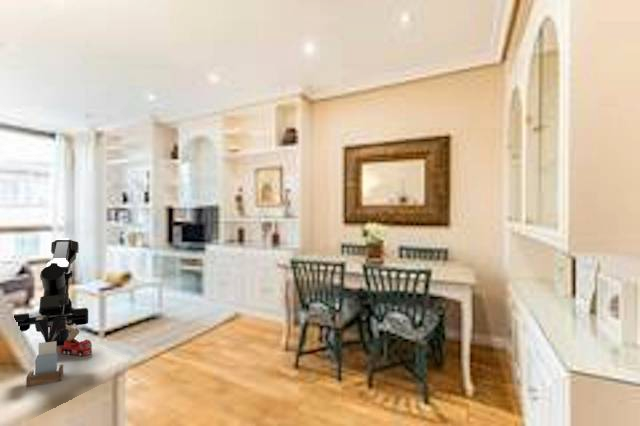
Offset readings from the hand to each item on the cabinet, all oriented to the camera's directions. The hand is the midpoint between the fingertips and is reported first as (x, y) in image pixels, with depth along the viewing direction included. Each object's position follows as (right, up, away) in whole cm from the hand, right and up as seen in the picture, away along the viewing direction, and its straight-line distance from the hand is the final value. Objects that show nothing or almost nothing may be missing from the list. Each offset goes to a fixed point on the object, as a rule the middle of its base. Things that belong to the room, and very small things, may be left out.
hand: (48, 345), depth 104 cm
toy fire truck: (-4, -8, +16) cm, 19 cm away
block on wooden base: (+1, -8, -2) cm, 9 cm away
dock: (0, -8, 0) cm, 8 cm away
